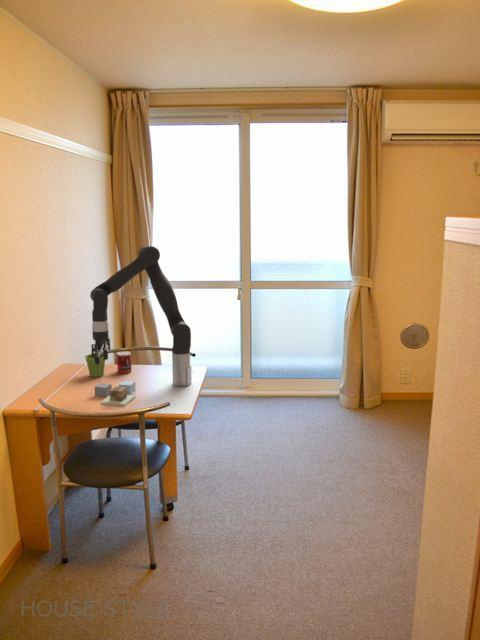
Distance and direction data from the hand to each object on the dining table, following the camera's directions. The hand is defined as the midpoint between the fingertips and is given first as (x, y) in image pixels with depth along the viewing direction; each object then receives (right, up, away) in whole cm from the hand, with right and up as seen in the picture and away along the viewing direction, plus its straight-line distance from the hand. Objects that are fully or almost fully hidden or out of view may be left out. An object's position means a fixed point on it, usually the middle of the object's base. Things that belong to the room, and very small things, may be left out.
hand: (101, 361), depth 251 cm
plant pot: (-11, -10, +32) cm, 36 cm away
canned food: (+2, -9, +39) cm, 40 cm away
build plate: (+10, -18, -6) cm, 21 cm away
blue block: (+11, -16, +6) cm, 21 cm away
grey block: (0, -17, +2) cm, 17 cm away
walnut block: (+10, -17, -6) cm, 21 cm away
